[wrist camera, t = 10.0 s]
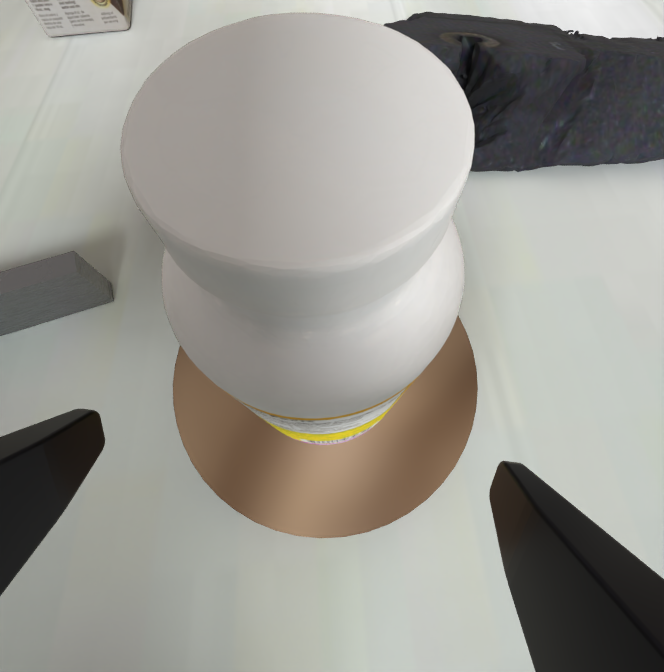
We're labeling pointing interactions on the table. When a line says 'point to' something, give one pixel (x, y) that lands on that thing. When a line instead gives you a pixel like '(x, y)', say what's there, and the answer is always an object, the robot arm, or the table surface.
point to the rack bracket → (49, 291)
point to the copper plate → (331, 451)
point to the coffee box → (81, 16)
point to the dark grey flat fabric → (549, 91)
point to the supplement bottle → (305, 212)
